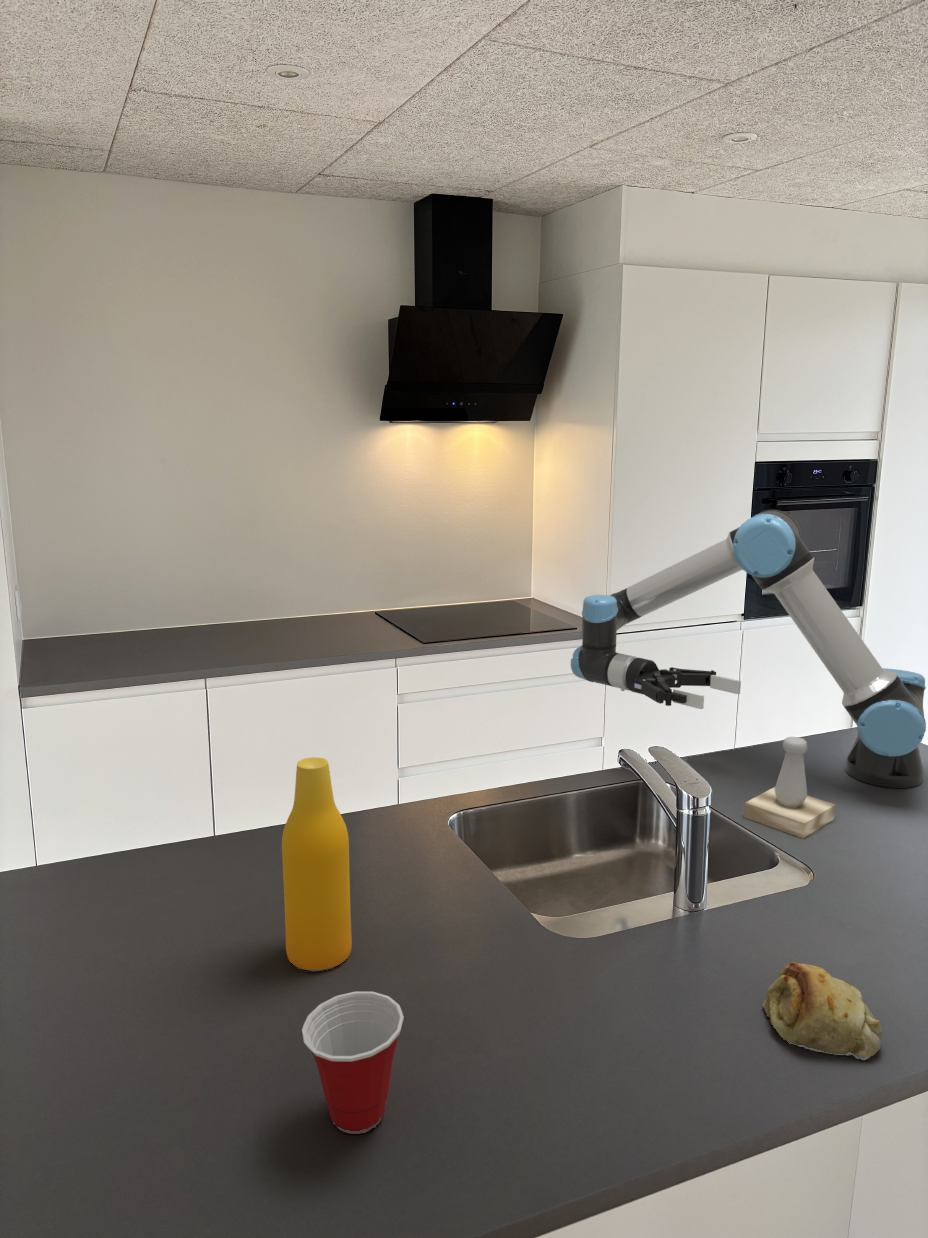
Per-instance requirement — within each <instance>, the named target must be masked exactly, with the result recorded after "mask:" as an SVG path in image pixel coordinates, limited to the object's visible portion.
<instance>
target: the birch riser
mask: <svg viewBox="0 0 928 1238" xmlns="http://www.w3.org/2000/svg"><path fill="white" fill-rule="evenodd" d="M775 787H776V785H775V786H774V787H772V788H770V789H768V790H766V791H764V792H762V793H761V794H759V795H756V796H755V797H753V798H751V799H749V800H748V801H746V802H744V810H743V811H744V812H743V813H744V814H743V818H745V819H747V820H751V821H752V822H756V823H758V824H761V825H765V826H767V827H770V828H772V829H774V830H778V831H779V832H780V831H781V832H784V833H787V834H789V835H792V836H795V837H797V838H800V839H802V840H803V839H805V838H807V837H808V836H810V835H812V834H813V833H815V832H816V831H818V830H819V829H821V828H823V827H824V826H826V825H827V824H829V823H831V822H832V821H833V820H835V814H836V813H835V812H836V804H834V803H832V802H828V801H826V800H822V799H820V798H816V797H813V796H810V795H807V797H806V799H805V801H804V802H803V804H802V806H800V807H797V808H789V807H784V806H783V805H781V804H779V803H778V800H777V797H776V794H775Z"/></svg>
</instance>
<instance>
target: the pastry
mask: <svg viewBox="0 0 928 1238" xmlns="http://www.w3.org/2000/svg"><path fill="white" fill-rule="evenodd" d="M777 975H778V977H777V978H776V980H774V982H773V983H772V984H771V985H770V986H769V987H768V988H767V991H766V999H764V1001H763V1003H762V1007H763V1009H764V1012H766V1014H767V1015H768V1017H769V1018H770V1019H769V1018H768V1019H769V1023H770V1024H771V1026H772V1025H773V1026H772V1027H773V1028H774V1030H775V1029H776V1030H775V1031H776V1032H777V1033H778V1036H779V1037H781V1039H782V1038H783V1039H782V1040H783V1041H785V1040H786V1041H787V1042H789V1043H793V1044H797V1045H804V1046H806V1047H808V1048H814V1049H817V1050H821V1051H824V1052H828V1053H832V1054H834V1053H835V1054H846V1053H848V1052H851V1053H853V1054H854V1055H856V1056H857V1057H859V1058H867V1059H868V1058H870V1057H871V1056H872V1057H874V1055H876V1054H877V1052H878V1051H879V1050H880V1049H881V1047H882V1042H881V1041H882V1033H883V1028H882V1024H881V1023H880V1020H878V1019H876V1018H875V1016H874V1014H873V1013H872V1011H871V1010H870V1007H869V1006H868V1005H867V1004H866V1003H865V1002H864V998H863V995H862V993H861V991H860V990H859V989H858V988H857V987H855V986H854V985H851V984H849V983H847V982H846V981H844V980H843V979H839V978H836V977H833V976H832V975H831V974H830V972H828V971H826V970H825V969H824V968H822V967H820V966H817V965H814V964H806V963H798V962H796V961H790V962H789V963H787V964H786V965H785V966H784V968H783V969H782V971H779V973H778V974H777ZM766 1014H765V1015H766ZM767 1015H766V1016H767ZM786 1041H785V1042H786ZM787 1042H786V1043H787ZM872 1057H871V1058H872ZM871 1058H870V1059H871Z"/></svg>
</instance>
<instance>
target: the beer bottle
mask: <svg viewBox="0 0 928 1238" xmlns="http://www.w3.org/2000/svg"><path fill="white" fill-rule="evenodd" d="M295 772H296V773H295V785H294V786H295V788H294V799H293V800H294V801H293V805H292V809H291V811H290V813H289V816H288V818H287V820H286V822H285V824H284V828H283V833H282V838H281V855H282V856H281V857H282V858H281V859H282V876H283V877H282V878H283V879H282V881H283V898H284V899H283V901H284V919H285V921H284V922H285V924H284V925H285V950H286V956H287V959H288V961H289V962H290V964H291V963H292V964H293V965H295V966H296V967H299V968H302V969H306V970H322V969H327V968H332V967H334V966H337V965H339V964H341V963H342V962H344V961H345V960H346V959H347V960H348V959H349V957H350V955H351V952H352V948H353V946H352V944H353V939H352V936H353V935H352V918H351V917H352V915H351V884H350V881H351V879H350V878H351V877H350V842H349V841H350V840H349V833H348V828H347V825H346V823H345V820H344V819H343V817H342V816H343V815H342V814H341V812H340V810H339V809H338V808H337V805H336V803H335V799H334V792H333V785H332V778H331V771H330V766H329V761H328V759H326V758H324V757H316V756H315V757H314V756H313V757H306V758H303V759H300V760H298V761H297V763H296V771H295ZM347 960H346V961H347ZM346 961H345V962H346ZM345 962H344V963H345ZM292 964H291V965H292ZM342 964H343V963H342ZM342 964H341V965H342ZM293 965H292V966H293ZM295 966H294V967H295ZM296 967H295V968H296Z"/></svg>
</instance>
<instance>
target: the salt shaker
mask: <svg viewBox="0 0 928 1238" xmlns="http://www.w3.org/2000/svg"><path fill="white" fill-rule="evenodd" d="M782 742H783V743H782V749H783V751H785V755H784V758H783V761H782V764H781V767H780V771H779V774H778V777H777V780H776V784H775V786H776V787H775V786H774V787H775V794H776V797H777V800H778V803H779V804H781V805H783V806H784V807H789V808H797V807H800V806H802V804H803V802H804V801H805V799H806V797H807V796H808V790H807V789H808V788H807V778H806V769H805V768H806V767H805V758H804V757H805V756H804V754H806V753H807V750H808V742H807V740H806V739H805V738H801V737H799V736H798V737H797V736H788V737H786V738H784V739H783V741H782Z"/></svg>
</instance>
